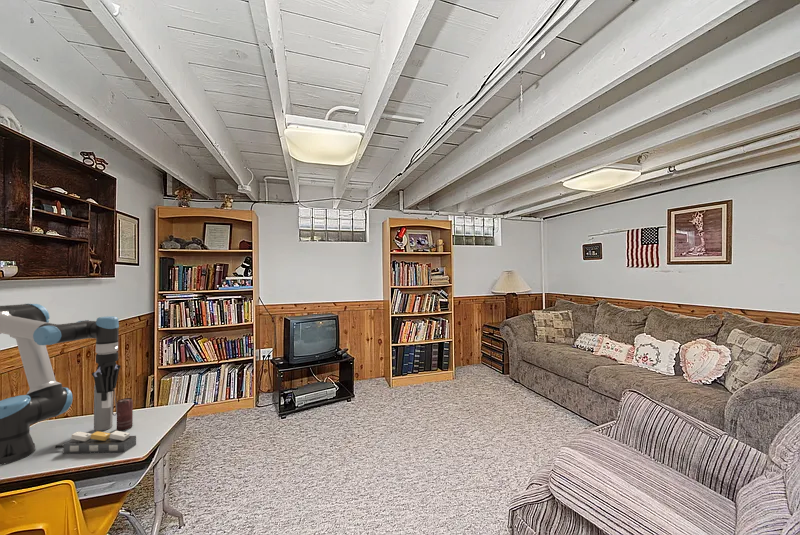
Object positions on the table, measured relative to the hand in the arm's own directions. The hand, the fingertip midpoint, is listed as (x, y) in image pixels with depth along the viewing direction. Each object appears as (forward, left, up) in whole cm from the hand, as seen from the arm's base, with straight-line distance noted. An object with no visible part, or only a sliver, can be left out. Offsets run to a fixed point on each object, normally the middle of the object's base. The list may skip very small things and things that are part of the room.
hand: (106, 407), depth 154 cm
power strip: (-5, 0, -18) cm, 19 cm away
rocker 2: (+6, 0, -12) cm, 13 cm away
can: (-7, +21, -18) cm, 29 cm away
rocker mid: (-2, 0, -12) cm, 12 cm away
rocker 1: (-10, 0, -12) cm, 16 cm away
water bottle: (-17, +22, -18) cm, 33 cm away
